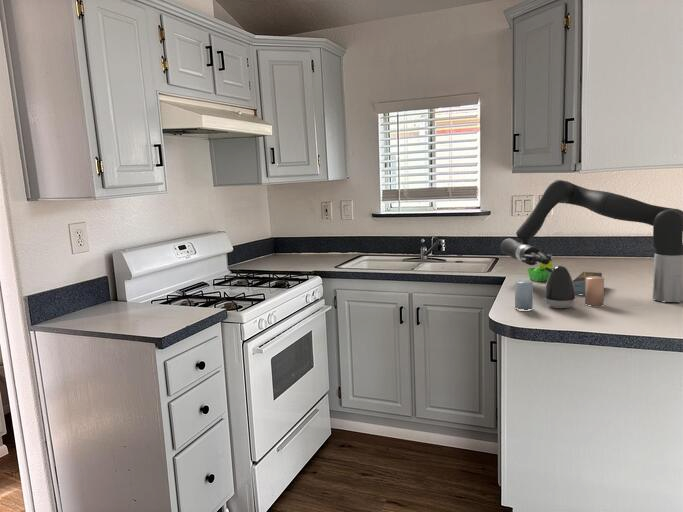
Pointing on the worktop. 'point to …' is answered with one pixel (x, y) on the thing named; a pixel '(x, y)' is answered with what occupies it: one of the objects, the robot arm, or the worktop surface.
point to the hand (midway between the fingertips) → (546, 261)
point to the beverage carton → (583, 281)
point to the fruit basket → (540, 272)
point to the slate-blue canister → (524, 294)
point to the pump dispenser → (559, 288)
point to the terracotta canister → (594, 291)
